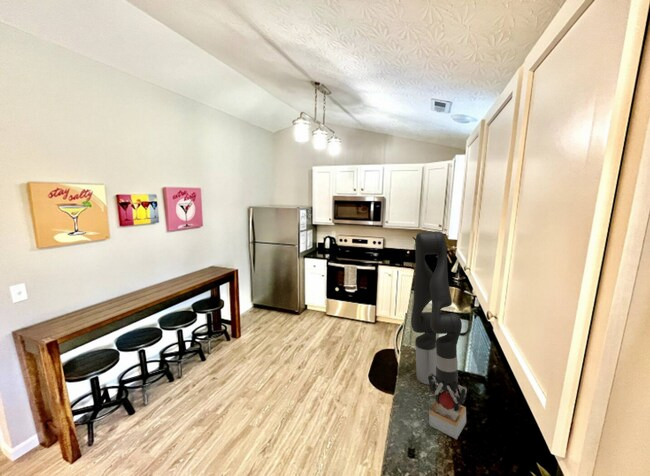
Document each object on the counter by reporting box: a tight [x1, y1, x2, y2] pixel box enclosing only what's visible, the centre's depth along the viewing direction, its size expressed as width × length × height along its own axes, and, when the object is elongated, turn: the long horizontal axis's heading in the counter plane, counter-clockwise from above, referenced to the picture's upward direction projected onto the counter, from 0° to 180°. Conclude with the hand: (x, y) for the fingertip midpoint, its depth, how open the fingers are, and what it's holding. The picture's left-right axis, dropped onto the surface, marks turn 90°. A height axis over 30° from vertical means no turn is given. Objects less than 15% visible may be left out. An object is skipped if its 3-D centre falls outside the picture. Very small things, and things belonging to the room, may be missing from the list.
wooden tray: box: [428, 400, 467, 440], centre depth 106 cm, size 13×10×6 cm
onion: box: [439, 390, 454, 410], centre depth 104 cm, size 6×6×8 cm
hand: (447, 406), depth 105 cm, fingers closed on onion, 5 cm apart
